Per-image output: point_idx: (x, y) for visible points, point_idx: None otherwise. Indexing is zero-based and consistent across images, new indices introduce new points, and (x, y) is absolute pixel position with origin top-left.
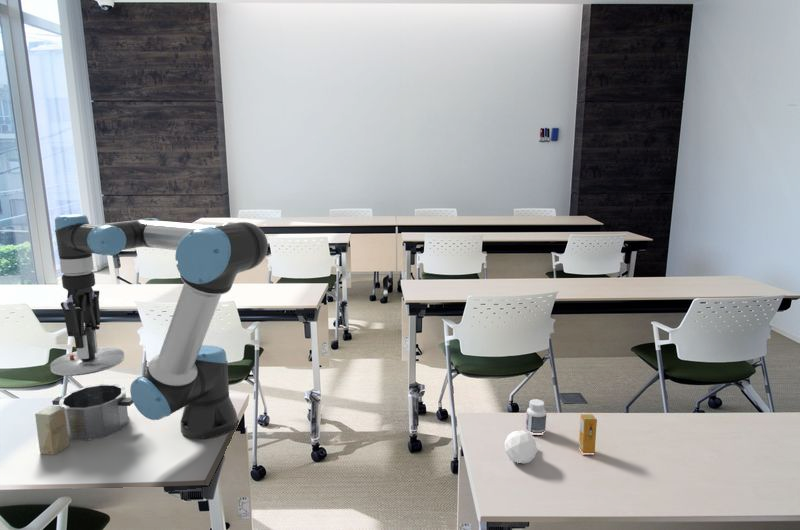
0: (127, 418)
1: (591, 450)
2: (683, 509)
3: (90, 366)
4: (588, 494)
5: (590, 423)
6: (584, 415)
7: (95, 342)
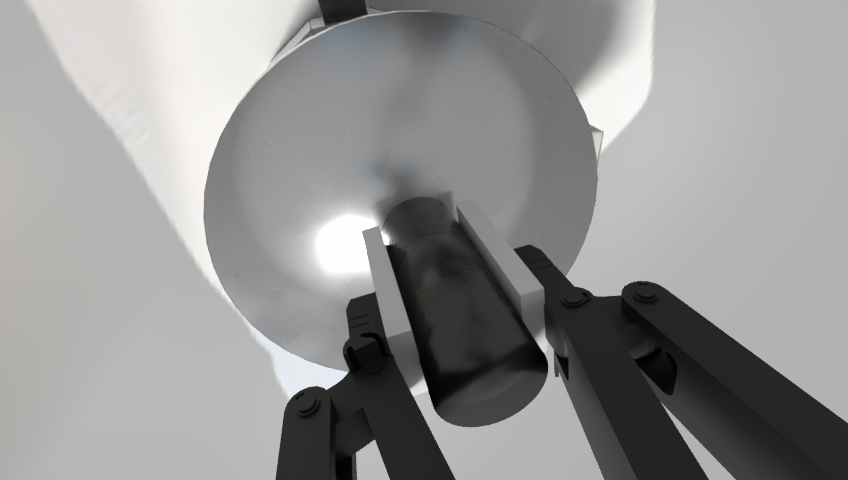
0: (313, 19)
1: None
2: None
3: (522, 117)
4: None
5: None
6: None
7: (385, 268)
